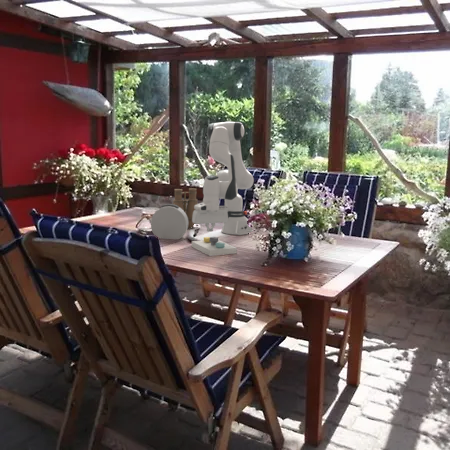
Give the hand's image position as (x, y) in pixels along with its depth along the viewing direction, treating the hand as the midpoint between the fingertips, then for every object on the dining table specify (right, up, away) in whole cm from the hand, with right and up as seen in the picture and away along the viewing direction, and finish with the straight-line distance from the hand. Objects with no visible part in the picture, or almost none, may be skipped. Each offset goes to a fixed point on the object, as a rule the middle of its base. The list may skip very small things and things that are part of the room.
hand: (209, 231), depth 286 cm
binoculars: (-18, +2, +57) cm, 59 cm away
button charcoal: (+2, -8, -1) cm, 9 cm away
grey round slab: (-25, -4, +26) cm, 36 cm away
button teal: (+5, -11, -7) cm, 14 cm away
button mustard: (-1, -8, +5) cm, 10 cm away
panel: (+2, -10, -1) cm, 10 cm away
